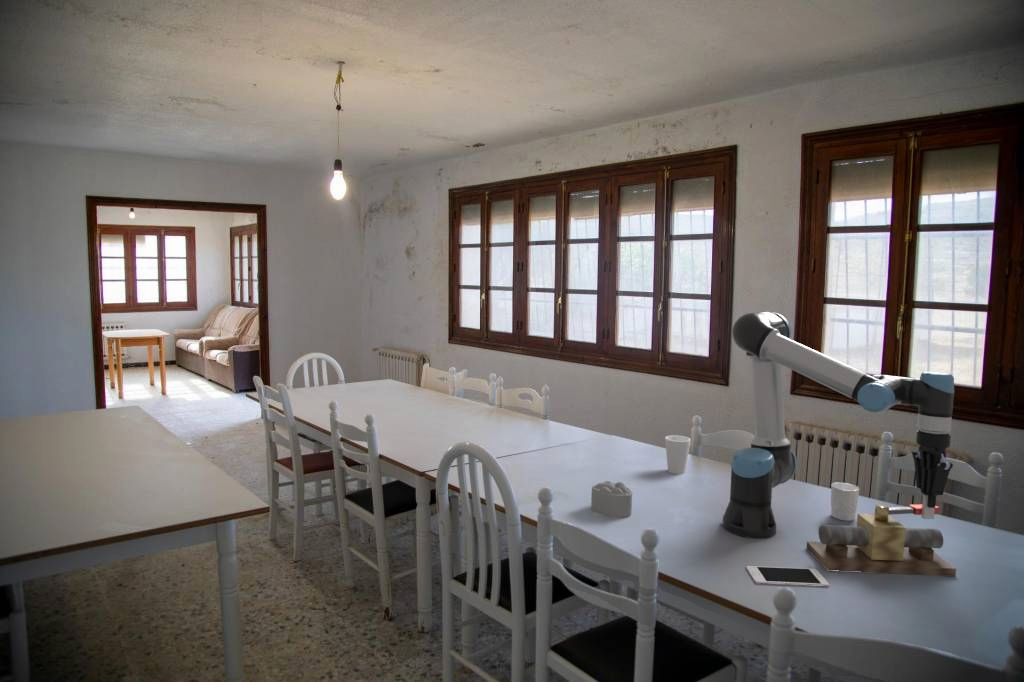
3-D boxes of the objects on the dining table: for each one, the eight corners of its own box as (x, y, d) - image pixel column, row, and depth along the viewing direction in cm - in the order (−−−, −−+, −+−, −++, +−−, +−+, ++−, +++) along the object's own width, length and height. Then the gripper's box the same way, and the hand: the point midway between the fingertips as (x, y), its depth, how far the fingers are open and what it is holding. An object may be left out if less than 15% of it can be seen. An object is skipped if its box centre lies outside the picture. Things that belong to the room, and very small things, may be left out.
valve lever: (939, 518, 174) (940, 506, 174) (880, 521, 172) (881, 509, 171) (929, 514, 177) (931, 502, 177) (871, 517, 175) (872, 505, 174)
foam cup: (669, 466, 257) (671, 434, 255) (692, 470, 251) (694, 437, 250) (660, 472, 249) (661, 439, 248) (683, 477, 244) (684, 443, 242)
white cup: (825, 517, 206) (827, 486, 205) (833, 510, 212) (835, 480, 211) (852, 523, 201) (855, 492, 200) (860, 517, 206) (862, 486, 205)
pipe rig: (828, 571, 169) (831, 528, 167) (806, 548, 182) (809, 508, 181) (955, 576, 167) (959, 533, 166) (924, 552, 181) (927, 512, 180)
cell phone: (745, 569, 170) (745, 565, 170) (815, 572, 169) (816, 568, 169) (755, 585, 161) (755, 581, 161) (830, 588, 160) (830, 584, 160)
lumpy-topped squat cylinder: (608, 501, 217) (609, 476, 216) (639, 513, 207) (640, 486, 206) (586, 508, 210) (587, 482, 209) (618, 521, 200) (618, 493, 199)
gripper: (965, 436, 165) (958, 526, 167) (931, 426, 178) (925, 510, 180) (936, 436, 165) (929, 526, 167) (904, 425, 177) (899, 509, 179)
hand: (927, 518), depth 173 cm, fingers closed
